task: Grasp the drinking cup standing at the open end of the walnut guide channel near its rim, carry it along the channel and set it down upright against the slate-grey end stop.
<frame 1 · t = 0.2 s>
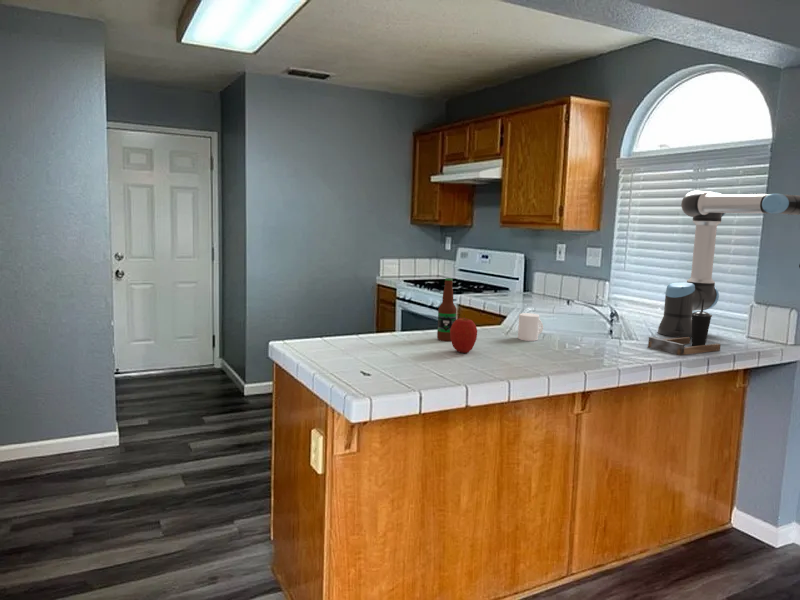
mug: (531, 339, 251), on the worktop
drinking cup: (698, 347, 245), on the worktop
apple: (462, 352, 221), on the worktop
channel: (683, 348, 241), on the worktop
bottle: (446, 340, 243), on the worktop
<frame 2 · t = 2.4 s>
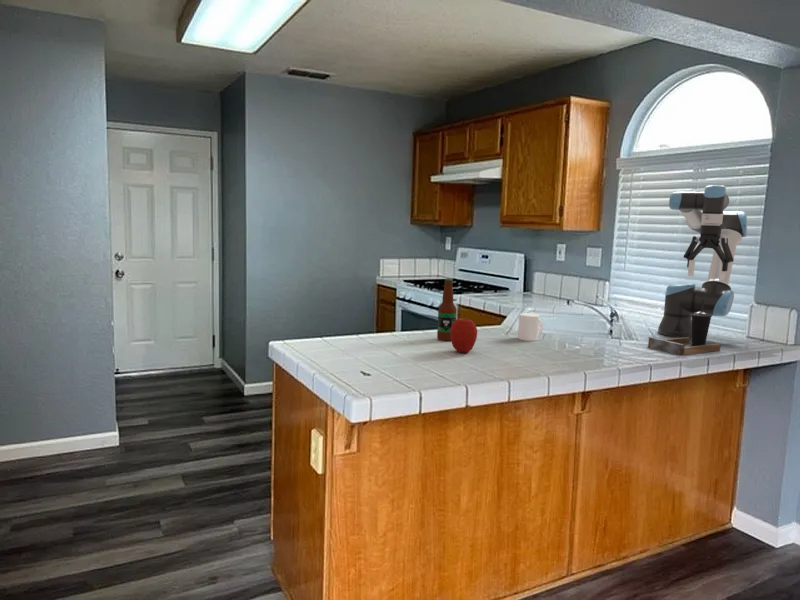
hand: (705, 277, 241), 29 cm above the worktop, fingers open, 13 cm apart
nothing on the worktop moved.
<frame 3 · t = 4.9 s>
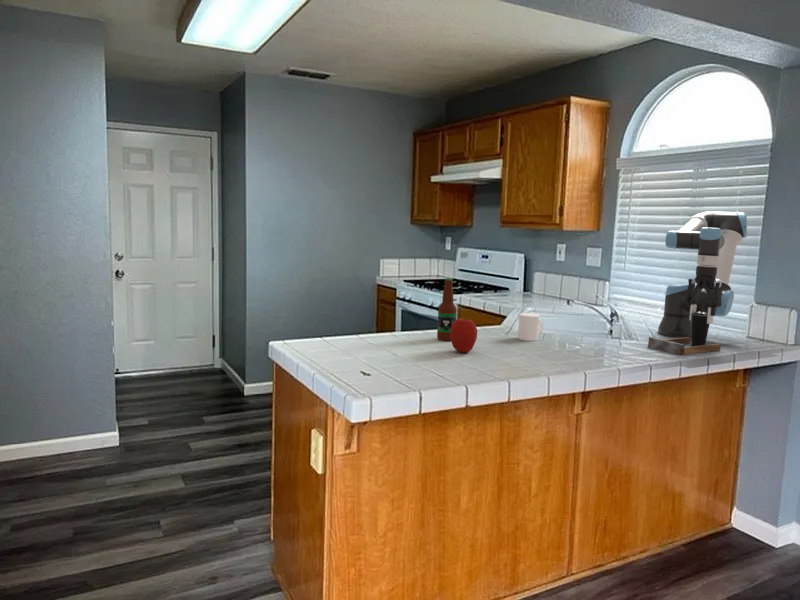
hand: (700, 321, 244), 11 cm above the worktop, fingers closed on drinking cup, 7 cm apart
drinking cup: (698, 347, 245), on the worktop, touching gripper
everything else where it was.
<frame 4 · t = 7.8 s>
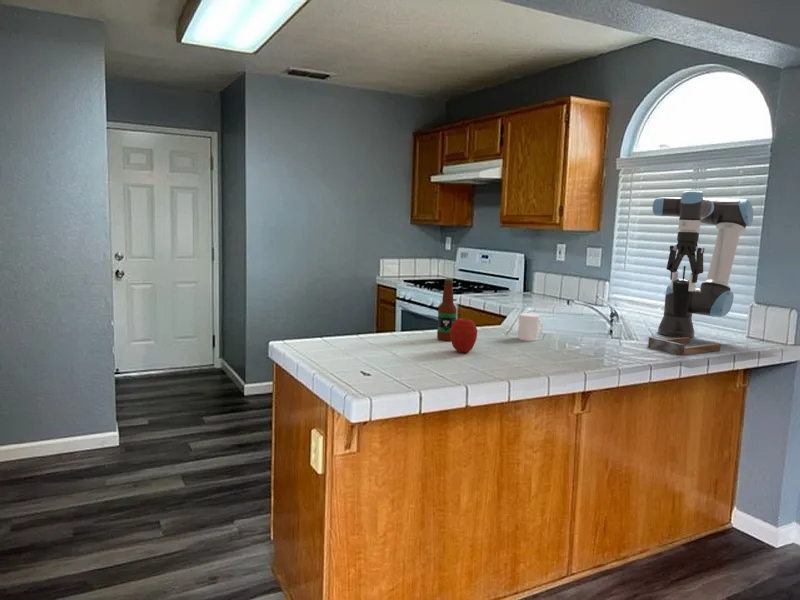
hand: (682, 289, 235), 24 cm above the worktop, fingers closed on drinking cup, 7 cm apart
drinking cup: (679, 316, 237), point 13 cm above the worktop, touching gripper
everything else where it was.
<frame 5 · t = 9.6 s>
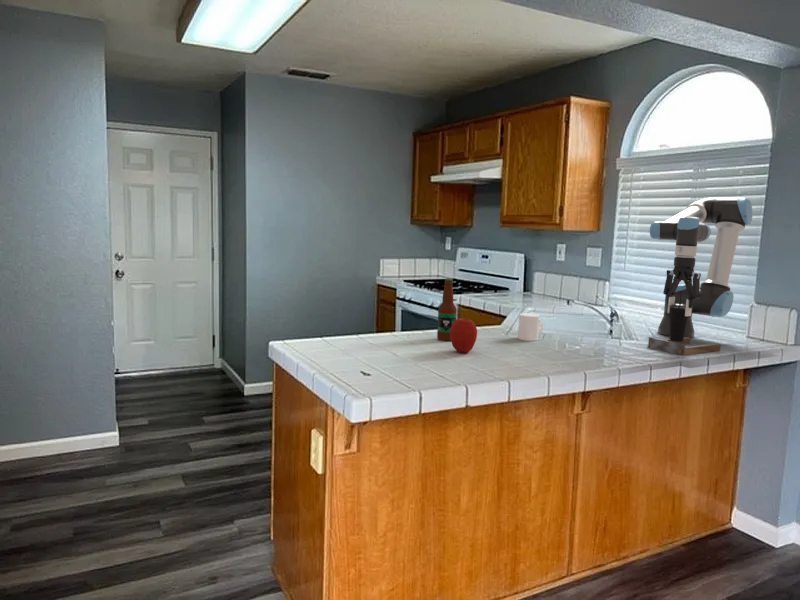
hand: (679, 314, 236), 14 cm above the worktop, fingers closed on drinking cup, 7 cm apart
drinking cup: (676, 340, 238), point 4 cm above the worktop, touching gripper
everything else where it was.
when the fingers open (12 cm above the worktop, at t = 10.9 s): drinking cup drops 1 cm, on the worktop.
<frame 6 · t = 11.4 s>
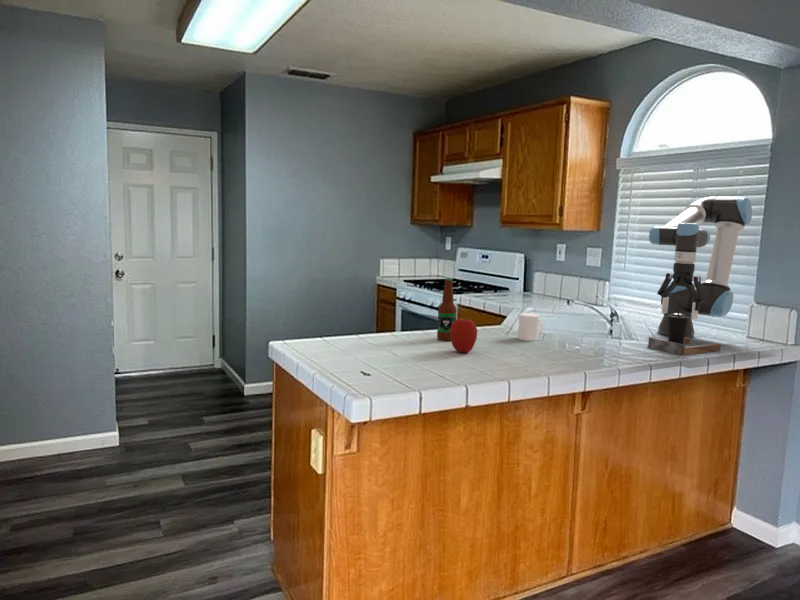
hand: (678, 316, 237), 14 cm above the worktop, fingers open, 13 cm apart
drinking cup: (675, 349, 239), on the worktop
everything else where it was.
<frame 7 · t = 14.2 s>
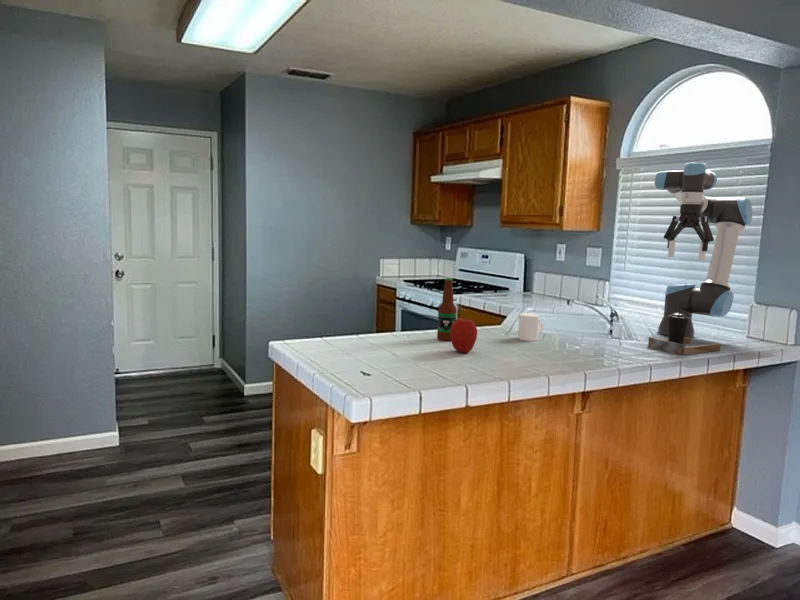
hand: (685, 258, 234), 37 cm above the worktop, fingers open, 13 cm apart
nothing on the worktop moved.
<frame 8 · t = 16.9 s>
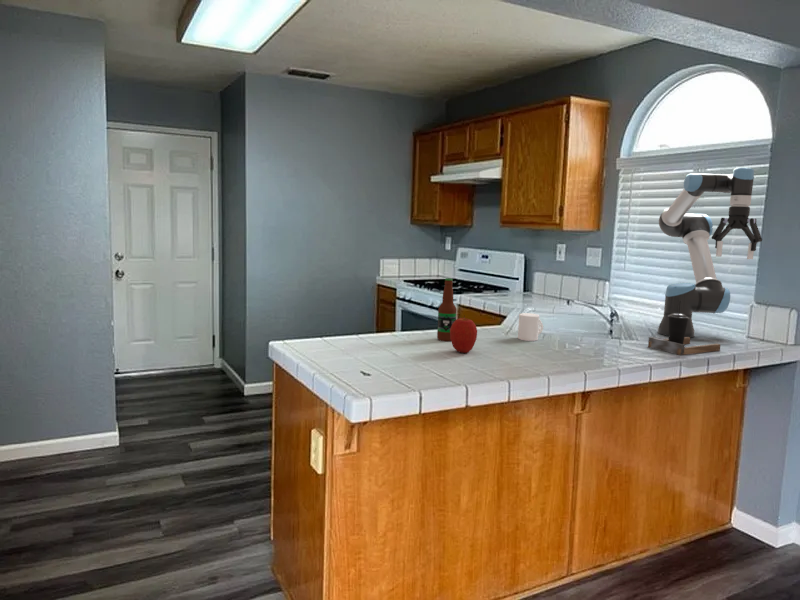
hand: (733, 257, 248), 37 cm above the worktop, fingers open, 13 cm apart
nothing on the worktop moved.
at the end: drinking cup inside the target area (0.4 cm from its centre), on the worktop; drinking cup tilted 0°; the gripper is holding nothing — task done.
